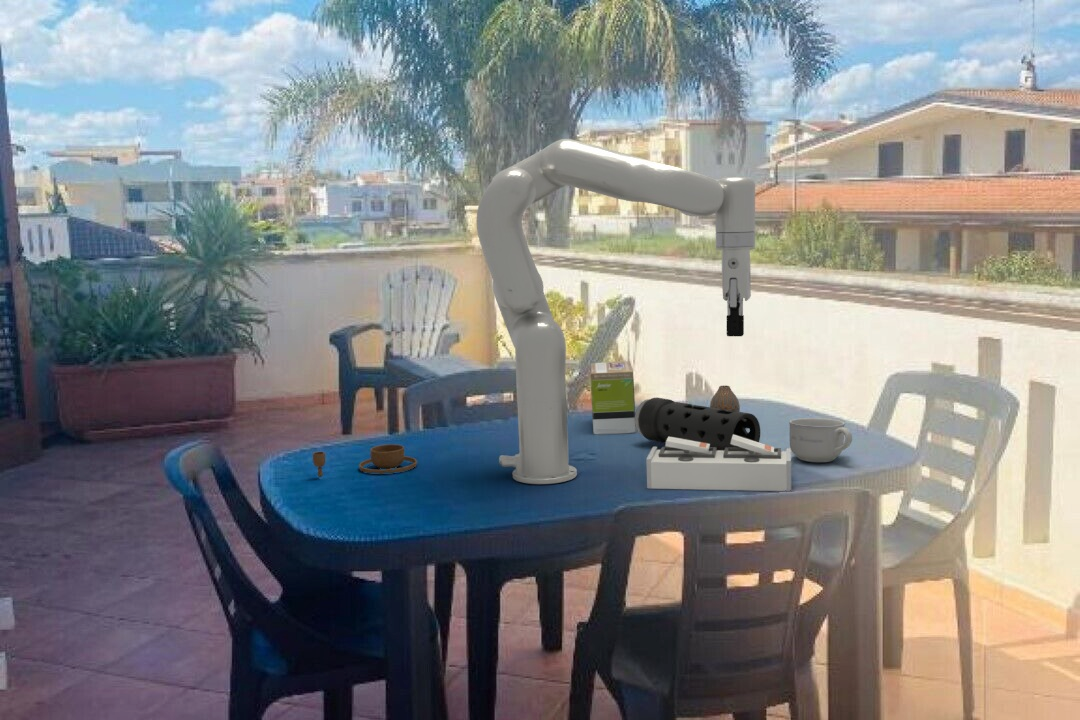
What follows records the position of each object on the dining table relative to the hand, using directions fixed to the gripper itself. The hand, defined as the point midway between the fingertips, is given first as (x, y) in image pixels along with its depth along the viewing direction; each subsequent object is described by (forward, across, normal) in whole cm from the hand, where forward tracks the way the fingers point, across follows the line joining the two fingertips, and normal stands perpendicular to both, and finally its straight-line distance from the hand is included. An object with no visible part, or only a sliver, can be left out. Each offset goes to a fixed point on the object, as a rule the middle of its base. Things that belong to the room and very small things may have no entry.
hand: (735, 335), depth 211 cm
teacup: (+26, +4, -17) cm, 31 cm away
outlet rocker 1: (+21, -12, +8) cm, 25 cm away
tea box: (+26, +34, +31) cm, 53 cm away
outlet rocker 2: (+20, -12, -4) cm, 24 cm away
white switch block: (+26, -14, +2) cm, 30 cm away
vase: (+26, +40, +5) cm, 48 cm away
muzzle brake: (+26, +11, +9) cm, 30 cm away
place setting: (+28, -10, +74) cm, 80 cm away
